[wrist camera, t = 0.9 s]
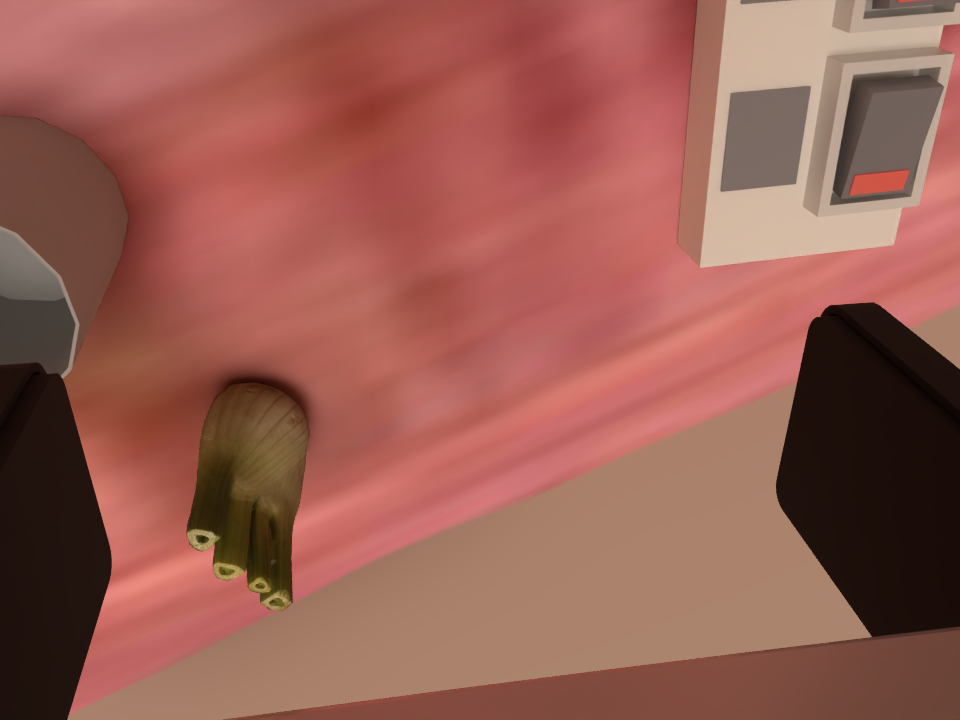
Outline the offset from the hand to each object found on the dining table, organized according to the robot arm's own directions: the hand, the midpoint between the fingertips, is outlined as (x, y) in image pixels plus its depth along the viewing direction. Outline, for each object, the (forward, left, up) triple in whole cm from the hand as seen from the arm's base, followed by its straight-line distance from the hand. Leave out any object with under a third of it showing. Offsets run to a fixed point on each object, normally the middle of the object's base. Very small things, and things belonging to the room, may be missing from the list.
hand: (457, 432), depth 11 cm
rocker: (+6, +22, -25) cm, 34 cm away
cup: (+7, -15, -30) cm, 34 cm away
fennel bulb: (+19, -7, -30) cm, 36 cm away
